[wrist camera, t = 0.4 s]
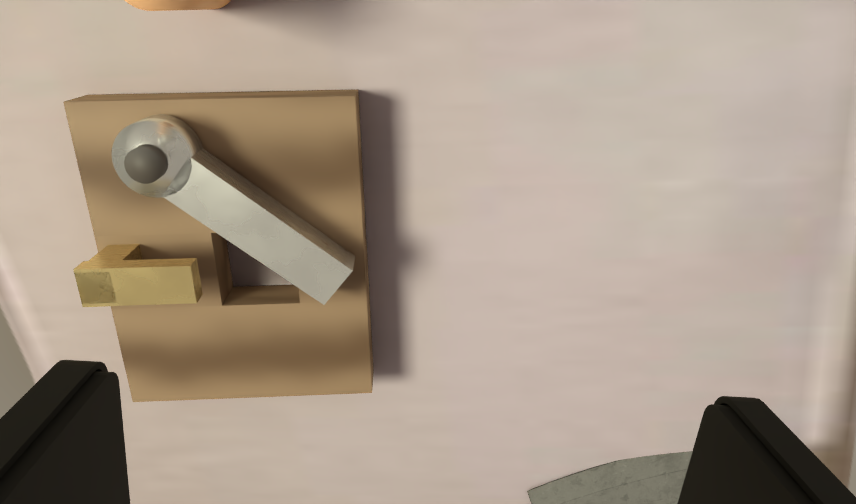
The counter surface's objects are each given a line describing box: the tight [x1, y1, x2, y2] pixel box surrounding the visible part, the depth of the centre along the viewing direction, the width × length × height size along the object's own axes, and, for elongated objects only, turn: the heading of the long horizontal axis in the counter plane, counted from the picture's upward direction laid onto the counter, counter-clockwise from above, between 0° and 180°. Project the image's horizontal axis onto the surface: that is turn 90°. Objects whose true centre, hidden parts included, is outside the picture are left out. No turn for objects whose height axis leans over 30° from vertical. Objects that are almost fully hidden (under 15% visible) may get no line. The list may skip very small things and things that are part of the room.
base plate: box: [64, 90, 373, 402], centre depth 40 cm, size 21×17×7 cm
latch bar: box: [112, 114, 355, 305], centre depth 37 cm, size 15×4×2 cm, turn 51°
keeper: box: [73, 244, 203, 307], centre depth 38 cm, size 2×7×4 cm, turn 91°
